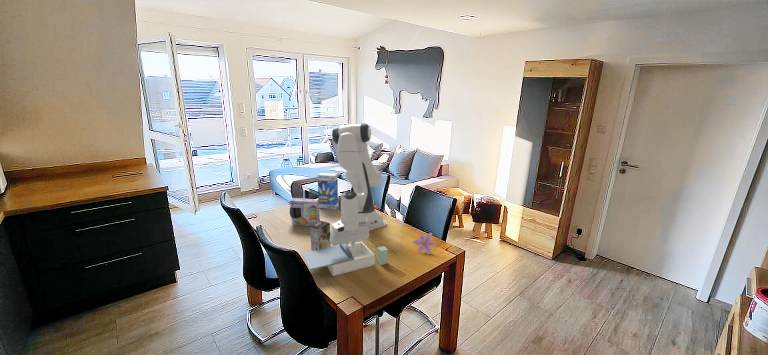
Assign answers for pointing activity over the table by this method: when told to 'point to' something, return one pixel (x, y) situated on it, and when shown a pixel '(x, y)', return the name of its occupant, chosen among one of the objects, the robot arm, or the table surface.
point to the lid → (327, 256)
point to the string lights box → (328, 190)
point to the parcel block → (382, 255)
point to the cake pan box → (304, 211)
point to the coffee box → (320, 235)
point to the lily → (424, 243)
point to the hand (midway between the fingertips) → (350, 249)
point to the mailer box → (361, 260)
